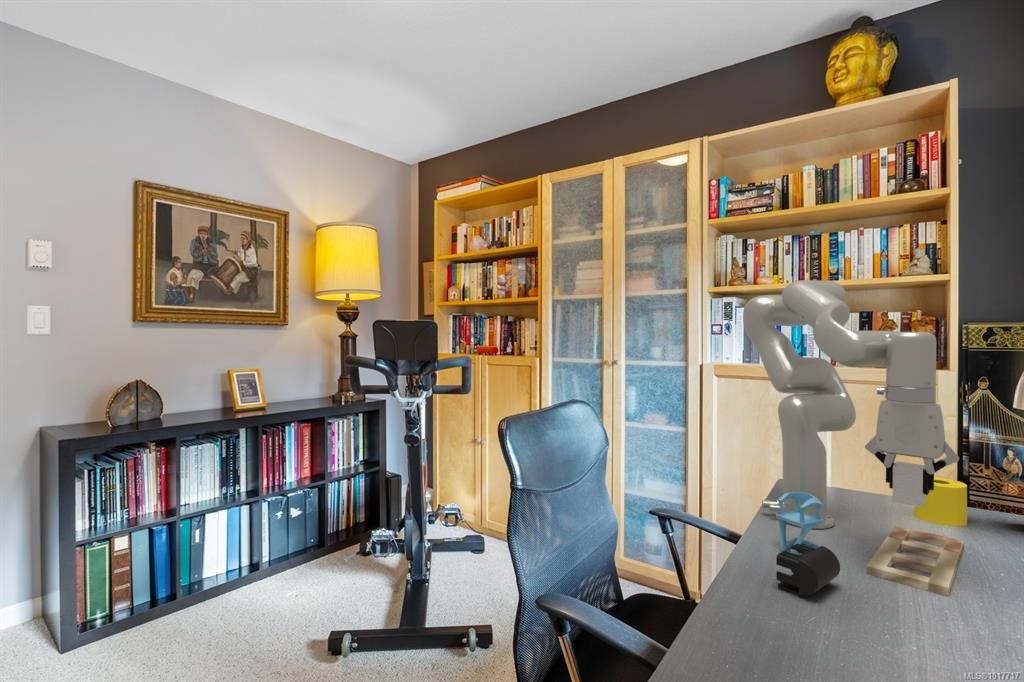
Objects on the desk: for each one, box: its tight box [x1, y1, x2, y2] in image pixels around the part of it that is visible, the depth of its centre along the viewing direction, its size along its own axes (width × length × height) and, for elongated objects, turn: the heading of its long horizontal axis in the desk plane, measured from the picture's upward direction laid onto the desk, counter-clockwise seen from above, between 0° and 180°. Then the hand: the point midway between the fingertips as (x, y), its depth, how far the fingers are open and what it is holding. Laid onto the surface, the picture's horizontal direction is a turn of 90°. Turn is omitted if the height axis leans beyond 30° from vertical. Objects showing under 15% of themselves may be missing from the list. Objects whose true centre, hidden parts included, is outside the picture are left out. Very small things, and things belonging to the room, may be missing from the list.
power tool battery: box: [775, 543, 841, 598], centre depth 92 cm, size 10×7×7 cm
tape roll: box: [914, 476, 968, 527], centre depth 126 cm, size 10×10×9 cm
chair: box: [775, 492, 824, 554], centre depth 108 cm, size 8×8×12 cm
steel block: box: [892, 461, 926, 507], centre depth 97 cm, size 4×4×7 cm
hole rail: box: [865, 525, 965, 597], centre depth 103 cm, size 12×30×2 cm, turn 134°
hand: (909, 489), depth 97 cm, fingers closed on steel block, 4 cm apart
